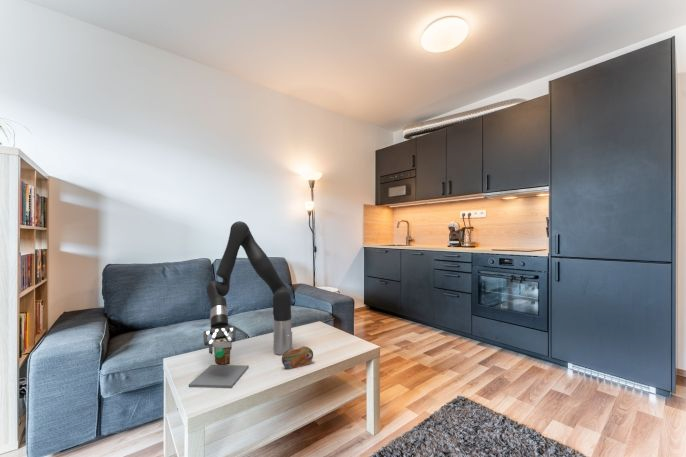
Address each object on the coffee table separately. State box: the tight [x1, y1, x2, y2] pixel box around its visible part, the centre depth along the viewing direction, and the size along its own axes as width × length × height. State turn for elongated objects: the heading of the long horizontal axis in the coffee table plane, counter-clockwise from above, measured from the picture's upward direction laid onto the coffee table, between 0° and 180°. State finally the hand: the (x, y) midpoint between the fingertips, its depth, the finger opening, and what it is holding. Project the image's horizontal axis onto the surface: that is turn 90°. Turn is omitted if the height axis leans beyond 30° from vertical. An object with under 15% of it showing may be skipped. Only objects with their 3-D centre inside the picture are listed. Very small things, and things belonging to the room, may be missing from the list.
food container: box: [213, 337, 231, 365], centre depth 126 cm, size 12×6×10 cm, turn 35°
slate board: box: [188, 364, 249, 389], centre depth 126 cm, size 18×18×1 cm
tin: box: [281, 345, 314, 370], centre depth 137 cm, size 15×3×8 cm, turn 117°
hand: (220, 351), depth 125 cm, fingers closed on food container, 6 cm apart
